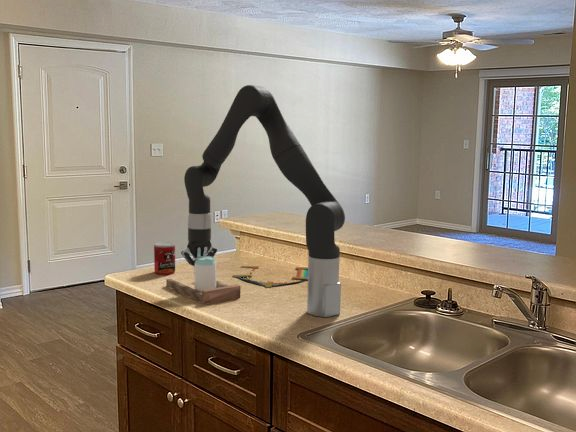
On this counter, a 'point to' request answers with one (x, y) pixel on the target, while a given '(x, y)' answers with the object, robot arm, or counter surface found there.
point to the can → (205, 273)
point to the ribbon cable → (300, 275)
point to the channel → (207, 292)
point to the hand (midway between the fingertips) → (199, 277)
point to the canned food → (164, 258)
